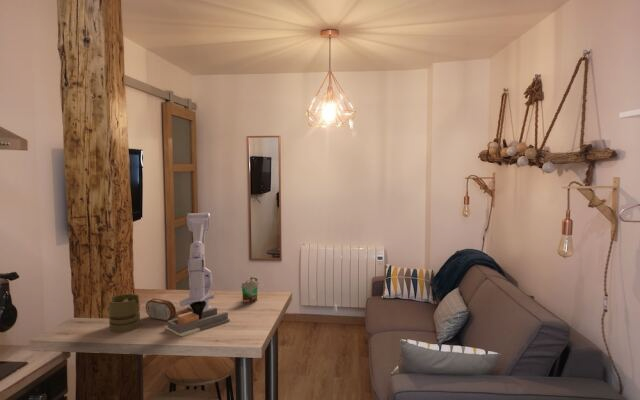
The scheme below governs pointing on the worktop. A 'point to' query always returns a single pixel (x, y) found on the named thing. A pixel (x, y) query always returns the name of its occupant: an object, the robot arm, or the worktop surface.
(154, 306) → the tin
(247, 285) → the food container
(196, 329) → the chute
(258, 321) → the worktop surface
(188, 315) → the block
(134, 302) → the piston
